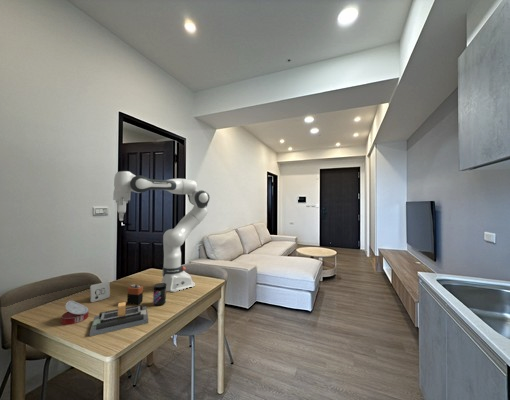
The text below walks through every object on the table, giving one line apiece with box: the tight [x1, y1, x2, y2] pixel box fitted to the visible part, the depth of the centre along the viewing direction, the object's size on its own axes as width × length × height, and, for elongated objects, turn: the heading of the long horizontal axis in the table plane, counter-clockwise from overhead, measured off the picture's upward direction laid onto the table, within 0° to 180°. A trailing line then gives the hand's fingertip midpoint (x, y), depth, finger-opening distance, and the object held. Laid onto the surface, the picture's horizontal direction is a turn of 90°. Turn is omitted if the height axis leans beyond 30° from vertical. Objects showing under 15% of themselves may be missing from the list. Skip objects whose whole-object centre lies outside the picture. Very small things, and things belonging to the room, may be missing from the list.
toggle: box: [117, 301, 127, 316], centre depth 100 cm, size 3×4×6 cm
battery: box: [126, 284, 144, 306], centre depth 120 cm, size 4×7×10 cm, turn 83°
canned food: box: [61, 300, 90, 326], centre depth 102 cm, size 11×10×10 cm
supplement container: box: [152, 282, 167, 307], centre depth 120 cm, size 7×7×10 cm
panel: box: [89, 304, 149, 337], centre depth 100 cm, size 22×14×4 cm, turn 121°
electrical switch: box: [89, 281, 111, 303], centre depth 124 cm, size 9×5×9 cm, turn 141°
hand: (120, 220), depth 128 cm, fingers open, 8 cm apart
